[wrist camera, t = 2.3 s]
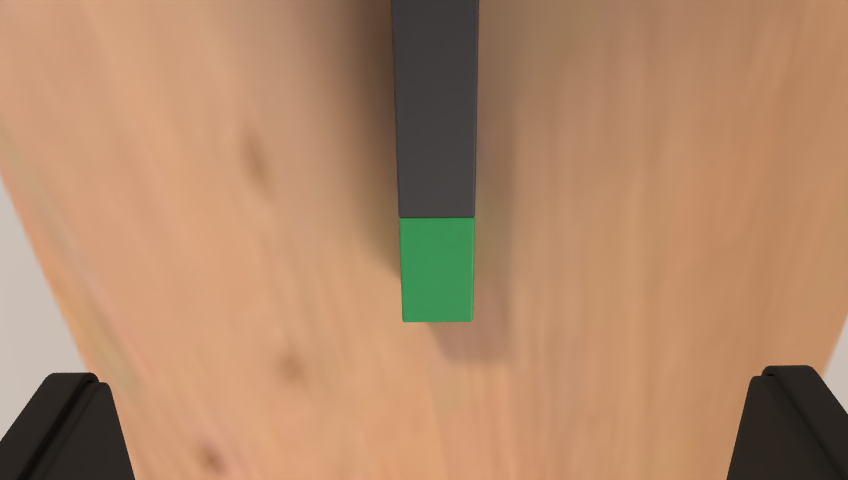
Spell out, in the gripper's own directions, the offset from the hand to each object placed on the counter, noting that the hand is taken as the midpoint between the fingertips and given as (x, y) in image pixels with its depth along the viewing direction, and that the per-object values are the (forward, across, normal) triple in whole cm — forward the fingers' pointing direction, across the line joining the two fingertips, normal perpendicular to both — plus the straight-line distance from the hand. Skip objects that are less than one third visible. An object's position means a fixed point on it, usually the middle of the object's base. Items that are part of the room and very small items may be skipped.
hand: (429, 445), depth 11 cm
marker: (+15, 0, 0) cm, 15 cm away
